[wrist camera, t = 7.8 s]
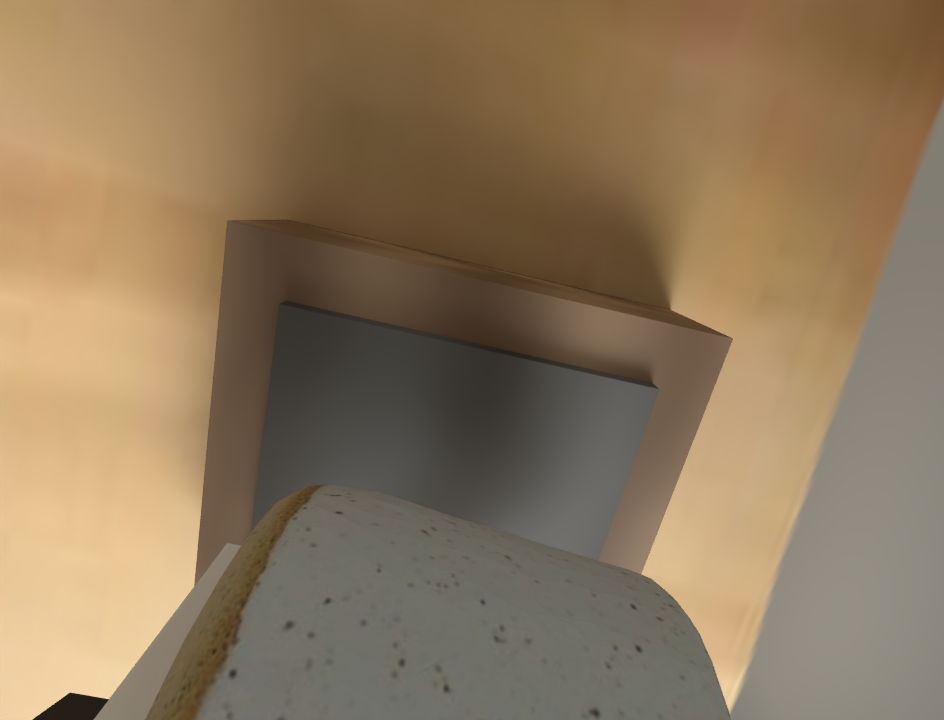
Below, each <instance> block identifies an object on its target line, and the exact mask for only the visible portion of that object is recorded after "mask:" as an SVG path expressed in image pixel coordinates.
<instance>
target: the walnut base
mask: <svg viewBox="0 0 944 720" xmlns="http://www.w3.org/2000/svg"><path fill="white" fill-rule="evenodd" d="M732 340H733V338H730V337H728V336H726V335H724V334H722V333H720V332H717V331H715V330H713V329H711V328H709V327H707V326H704V325H702V324H700V323H698V322H696V321H693V320H691V319H689V318H687V317H685V316H683V315H680V314H678V313H676V312H674V311H672V310H668V309H664V308H659V307H655V306H651V305H647V304H642V303H638V302H634V301H630V300H625V299H621V298H617V297H613V296H608V295H604V294H600V293H596V292H591V291H587V290H583V289H579V288H574V287H570V286H566V285H562V284H557V283H553V282H549V281H545V280H540V279H536V278H532V277H528V276H524V275H519V274H515V273H511V272H507V271H502V270H498V269H494V268H490V267H485V266H481V265H477V264H473V263H468V262H464V261H460V260H456V259H451V258H447V257H443V256H439V255H434V254H430V253H426V252H422V251H417V250H413V249H409V248H405V247H400V246H396V245H392V244H388V243H383V242H379V241H375V240H371V239H366V238H362V237H358V236H354V235H349V234H345V233H341V232H337V231H332V230H328V229H324V228H320V227H316V226H311V225H307V224H303V223H299V222H294V221H290V220H233V221H227V232H226V243H225V254H224V265H223V276H222V287H221V298H220V309H219V320H218V331H217V342H216V353H215V364H214V375H213V386H212V397H211V408H210V419H209V431H208V442H207V453H206V464H205V475H204V486H203V497H202V508H201V519H200V530H199V541H198V552H197V563H196V574H195V585H196V584H197V582H198V581H199V580H200V578H201V577H202V576H203V575H204V573H205V572H206V571H207V569H208V568H209V567H210V565H211V564H212V563H213V561H214V560H215V559H216V557H217V556H218V555H219V553H220V552H221V551H222V549H223V548H224V547H225V545H226V544H227V543H229V544H235V545H240V546H241V545H242V544H243V543H244V541H245V540H246V538H247V537H248V536H249V534H250V533H251V532H252V530H253V529H254V528H255V526H256V525H257V524H258V523H259V521H260V520H261V519H262V518H263V517H264V516H265V515H266V514H267V512H268V511H269V510H270V509H271V508H272V507H273V506H274V505H275V504H276V502H278V501H280V500H282V499H284V498H286V497H287V496H289V495H291V494H293V493H295V492H297V491H299V490H301V489H303V488H305V487H307V486H312V485H333V486H343V487H349V488H356V489H363V490H371V491H378V492H381V493H385V494H388V495H391V496H394V497H397V498H400V499H403V500H406V501H409V502H412V503H415V504H418V505H421V506H424V507H427V508H430V509H433V510H436V511H439V512H441V513H444V514H447V515H450V516H453V517H456V518H460V519H463V520H467V521H470V522H474V523H477V524H480V525H484V526H487V527H491V528H494V529H498V530H501V531H504V532H507V533H511V534H514V535H517V536H520V537H523V538H526V539H529V540H532V541H535V542H538V543H542V544H545V545H548V546H551V547H554V548H558V549H561V550H564V551H567V552H571V553H574V554H577V555H581V556H584V557H587V558H590V559H594V560H597V561H600V562H604V563H607V564H611V565H614V566H618V567H622V568H625V569H629V570H631V571H634V572H636V573H638V574H641V573H642V571H643V568H644V565H645V563H646V560H647V558H648V555H649V553H650V550H651V547H652V545H653V542H654V540H655V537H656V535H657V532H658V530H659V527H660V524H661V522H662V519H663V517H664V514H665V512H666V509H667V506H668V504H669V501H670V499H671V496H672V494H673V491H674V488H675V486H676V483H677V481H678V478H679V476H680V473H681V471H682V468H683V465H684V463H685V460H686V458H687V455H688V453H689V450H690V447H691V445H692V442H693V440H694V437H695V435H696V432H697V430H698V427H699V424H700V422H701V419H702V417H703V414H704V412H705V409H706V406H707V404H708V401H709V399H710V396H711V394H712V391H713V389H714V386H715V383H716V381H717V378H718V376H719V373H720V371H721V368H722V365H723V363H724V360H725V358H726V355H727V353H728V350H729V348H730V345H731V342H732ZM195 585H194V586H195Z"/></svg>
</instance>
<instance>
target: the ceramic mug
mask: <svg viewBox="0 0 944 720" xmlns="http://www.w3.org/2000/svg"><path fill="white" fill-rule="evenodd" d="M145 720H731V718H730V714H729V711H728V708H727V705H726V702H725V699H724V696H723V693H722V690H721V687H720V684H719V681H718V678H717V676H716V673H715V670H714V667H713V664H712V661H711V658H710V656H709V654H708V652H707V650H706V648H705V646H704V643H703V641H702V639H701V636H700V634H699V632H698V631H697V629H696V628H695V626H694V625H693V623H692V621H691V620H690V618H689V617H688V616H687V614H686V613H685V612H684V610H683V609H682V608H681V606H680V605H679V604H678V602H677V601H676V600H675V599H674V598H673V597H672V596H671V595H670V594H668V593H667V592H666V591H665V590H664V589H663V588H662V587H660V586H659V585H658V584H657V583H656V582H654V581H653V580H652V579H651V578H648V577H646V576H643V575H641V574H638V573H636V572H634V571H631V570H629V569H625V568H622V567H618V566H614V565H611V564H607V563H604V562H600V561H597V560H594V559H590V558H587V557H584V556H581V555H577V554H574V553H571V552H567V551H564V550H561V549H558V548H554V547H551V546H548V545H545V544H542V543H538V542H535V541H532V540H529V539H526V538H523V537H520V536H517V535H514V534H511V533H507V532H504V531H501V530H498V529H494V528H491V527H487V526H484V525H480V524H477V523H474V522H470V521H467V520H463V519H460V518H456V517H453V516H450V515H447V514H444V513H441V512H439V511H436V510H433V509H430V508H427V507H424V506H421V505H418V504H415V503H412V502H409V501H406V500H403V499H400V498H397V497H394V496H391V495H388V494H385V493H381V492H378V491H371V490H363V489H356V488H349V487H343V486H333V485H312V486H307V487H305V488H303V489H301V490H299V491H297V492H295V493H293V494H291V495H289V496H287V497H286V498H284V499H282V500H280V501H278V502H276V504H275V505H274V506H273V507H272V508H271V509H270V510H269V511H268V512H267V514H266V515H265V516H264V517H263V518H262V519H261V520H260V521H259V523H258V524H257V525H256V526H255V528H254V529H253V530H252V532H251V533H250V534H249V536H248V537H247V538H246V540H245V541H244V543H243V544H242V545H241V547H240V548H239V550H238V552H237V553H236V555H235V556H234V558H233V559H232V561H231V562H230V564H229V565H228V567H227V569H226V570H225V572H224V573H223V575H222V576H221V578H220V580H219V581H218V583H217V585H216V586H215V588H214V590H213V592H212V593H211V595H210V597H209V598H208V600H207V602H206V604H205V605H204V607H203V609H202V610H201V612H200V614H199V616H198V617H197V619H196V621H195V622H194V624H193V626H192V628H191V629H190V631H189V633H188V634H187V636H186V638H185V640H184V642H183V644H182V646H181V648H180V650H179V652H178V654H177V656H176V658H175V660H174V662H173V664H172V666H171V668H170V670H169V672H168V674H167V676H166V678H165V680H164V682H163V684H162V686H161V688H160V690H159V692H158V694H157V696H156V698H155V700H154V703H153V705H152V707H151V709H150V711H149V713H148V715H147V717H146V719H145Z"/></svg>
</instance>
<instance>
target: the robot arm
mask: <svg viewBox="0 0 944 720" xmlns="http://www.w3.org/2000/svg"><path fill="white" fill-rule="evenodd" d="M240 547H241V546H240V545H235V544H229V543H227V544H226V545H225V547H224V548H223V549H222V551H221V552H220V553H219V555H218V556H217V557H216V559H215V560H214V561H213V563H212V564H211V565H210V567H209V568H208V569H207V571H206V572H205V573H204V575H203V576H202V577H201V578H200V580H199V581H198V582H197V584H196V585H195V586H194V588H193V589H192V590H191V592H190V593H189V594H188V596H187V597H186V598H185V600H184V601H183V602H182V604H181V605H180V606H179V608H178V609H177V610H176V612H175V613H174V614H173V616H172V617H171V618H170V619H169V621H168V622H167V623H166V625H165V626H164V627H163V629H162V630H161V631H160V633H159V634H158V635H157V637H156V638H155V639H154V641H153V642H152V643H151V645H150V646H149V647H148V649H147V650H146V651H145V653H144V654H143V655H142V656H141V658H140V659H139V660H138V662H137V663H136V664H135V666H134V667H133V668H132V670H131V671H130V672H129V674H128V675H127V676H126V678H125V679H124V680H123V682H122V683H121V684H120V686H119V687H118V688H117V690H116V691H115V692H114V694H113V695H112V696H111V697H110V699H104V698H98V697H92V696H86V695H81V694H75V693H69V694H68V695H66V696H65V697H63V698H62V699H61V700H59V701H58V702H56V703H55V704H54V705H52V706H51V707H49V708H48V709H47V710H45V711H44V712H42V713H41V714H40V715H38V716H37V717H35V718H34V719H33V720H145V719H146V717H147V715H148V713H149V711H150V709H151V707H152V705H153V703H154V700H155V698H156V696H157V694H158V692H159V690H160V688H161V686H162V684H163V682H164V680H165V678H166V676H167V674H168V672H169V670H170V668H171V666H172V664H173V662H174V660H175V658H176V656H177V654H178V652H179V650H180V648H181V646H182V644H183V642H184V640H185V638H186V636H187V634H188V633H189V631H190V629H191V628H192V626H193V624H194V622H195V621H196V619H197V617H198V616H199V614H200V612H201V610H202V609H203V607H204V605H205V604H206V602H207V600H208V598H209V597H210V595H211V593H212V592H213V590H214V588H215V586H216V585H217V583H218V581H219V580H220V578H221V576H222V575H223V573H224V572H225V570H226V569H227V567H228V565H229V564H230V562H231V561H232V559H233V558H234V556H235V555H236V553H237V552H238V550H239V548H240Z"/></svg>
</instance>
